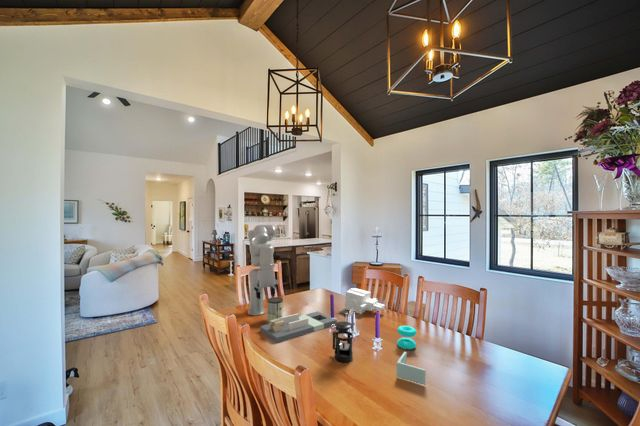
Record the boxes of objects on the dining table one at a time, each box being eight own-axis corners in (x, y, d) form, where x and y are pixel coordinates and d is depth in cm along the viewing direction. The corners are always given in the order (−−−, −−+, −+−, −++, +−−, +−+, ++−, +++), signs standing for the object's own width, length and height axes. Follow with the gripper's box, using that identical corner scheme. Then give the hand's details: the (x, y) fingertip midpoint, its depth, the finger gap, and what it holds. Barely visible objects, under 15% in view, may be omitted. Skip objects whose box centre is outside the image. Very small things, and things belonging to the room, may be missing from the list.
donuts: (396, 324, 162) (415, 325, 160) (396, 341, 162) (414, 343, 160) (398, 331, 153) (417, 332, 151) (397, 349, 153) (417, 351, 151)
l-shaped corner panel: (424, 388, 120) (425, 370, 120) (396, 379, 126) (396, 362, 126) (430, 375, 130) (430, 358, 130) (404, 367, 136) (404, 351, 136)
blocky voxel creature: (374, 323, 194) (339, 311, 210) (388, 313, 214) (355, 303, 230) (376, 302, 193) (341, 291, 209) (390, 293, 214) (357, 285, 230)
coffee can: (269, 317, 197) (269, 296, 197) (284, 318, 196) (284, 297, 196) (265, 322, 186) (265, 301, 186) (280, 323, 185) (280, 302, 185)
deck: (260, 331, 173) (260, 319, 173) (317, 315, 201) (317, 305, 201) (276, 343, 158) (276, 330, 158) (336, 324, 186) (336, 313, 186)
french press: (357, 358, 142) (358, 312, 142) (346, 366, 135) (347, 317, 135) (339, 350, 150) (339, 307, 150) (327, 357, 143) (328, 311, 143)
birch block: (270, 328, 170) (270, 320, 170) (278, 326, 173) (279, 318, 173) (275, 332, 165) (275, 323, 165) (284, 329, 169) (284, 321, 169)
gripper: (276, 264, 173) (275, 293, 173) (249, 267, 162) (248, 298, 162) (282, 266, 167) (282, 296, 167) (255, 269, 156) (254, 301, 156)
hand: (265, 297), depth 164 cm, fingers open, 8 cm apart
